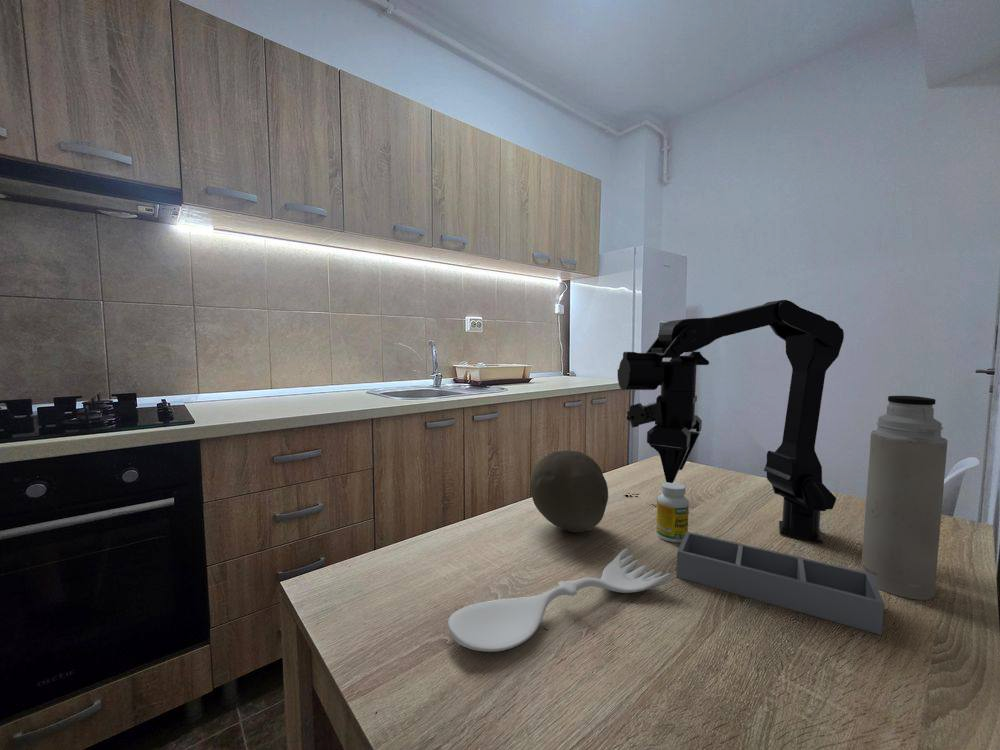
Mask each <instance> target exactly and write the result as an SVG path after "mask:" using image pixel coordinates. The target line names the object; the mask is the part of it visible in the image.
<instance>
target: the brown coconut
mask: <svg viewBox="0 0 1000 750" xmlns="http://www.w3.org/2000/svg"><path fill="white" fill-rule="evenodd" d="M529 490H530V494H531V498H532V501H533V504H534V506H535V508H536V509H537V511H538V512H539V513H540V514H541V515H542V517H543V518H545V520H547V521H548V522H549V523H551V524H552V525H554V526H555V527H557V528H559V529H562V530H565V531H568V532H573V533H583V532H587V531H590V530H591V529H593V528H595V527H597V525H598V524H600V523H601V521H602V519H603V518H604V515H605V511H606V509H607V505H608V501H609V488H608V483H607V481H606V478H605V476H604V474H603V472H602V469H601V467H600V465H599V464H598V463H597V462H596V461H595V460H594V459H593V458H592V457H590V456H589V455H587V454H585V453H583V452H581V451H578V450H577V451H576V450H559V451H552V452H550V453H548V454H547V455H545V456H543V458H540V460H539V461H538V462H537V463H536V465H535V467H534V468H533V470H532V472H531V475H530V479H529Z"/></svg>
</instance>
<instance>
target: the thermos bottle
mask: <svg viewBox="0 0 1000 750" xmlns="http://www.w3.org/2000/svg"><path fill="white" fill-rule="evenodd" d="M887 401H888V404H887V406H886V413H885V414H883V415H881V416H878V418H877V419H878V420H877V423H876V426H877V429H875V430H871V432H870V443H869V458H868V471H867V483H866V497H865V510H864V511H865V513H864V523H863V525H864V526H863V536H862V538H863V540H862V551H861V552H862V553H861V563H860V564H861V566H860V571H863V572H867V573H871V575H872V578H873V580H874V582H875V584H876V587H877V589H878V590H880V591H883V592H886V593H888V594H891V595H894V596H897V597H901V598H902V597H903V598H906V599H912V600H918V601H919V600H920V601H921V600H922V601H926V600H931V599H933V598H934V597H935V593H936V584H937V583H936V581H937V570H938V558H939V556H938V555H939V547H940V534H941V522H942V514H943V513H942V512H943V499H944V498H943V497H944V487H945V477H946V467H947V466H946V464H947V453H948V451H947V450H948V439H947V438H945V437H942V430H943V429H944V428H943V426H942V423H941V422H940V421H939V420H937V419H936V418H934V415H935V413H934V412H935V410H934V409H935V408H934V405H936V399H935V398H931V397H925V396H917V395H916V396H915V395H888V396H887Z"/></svg>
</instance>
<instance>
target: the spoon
mask: <svg viewBox="0 0 1000 750" xmlns="http://www.w3.org/2000/svg"><path fill="white" fill-rule="evenodd" d="M629 552H630V548H624V549H623V550H621V551H620V552H619V553H618V554H617V555H616V556H615V557H614V558H613V559H612V561H610V562H609V563H608V564H607V565H605V567H604V568H603V571H602V573H601V577H600V578H596V577H581V578H579V579H575V580H571V581H567V580H561V581H558V582H557V587H554V588H553V589H550V590H548V591H545V592H543V593H540V594H538V595H532V596H524V597H512V598H500V599H499V598H498V599H493V600H489V601H483V602H478V603H474V604H470V605H467V606H464V607H462V608H460V609H457V610H456V611H454V612H453V613H452V614H451V615H450V616H449V618H448V621H447V628H448V632H449V634H450V636H451V637H452V639H453V640H454V641H455V642H456V643H458V645H459V646H462V647H465V648H467V649H470V650H473V651H478V652H479V651H480V652H485V653H486V652H491V653H492V652H502V651H506V650H510V649H513V648H515V647H517V646H519V645H521V644H523V643H524V642H526V641H527V640H529V639H530V638H531V637H532V636H533V635H534V634H535V633H536V632H537V630H538V628H539V627H540V624H541V622H542V620H543V617H544V615H545V612H546V609H547V608H548V605H549V604H550V603H551V602H552V601H554V599H556V598H558V597H561V596H569V597H575V596H576V595H577V594H578V591H579V590H583V589H584V588H589V587H595V588H596V587H597V588H601V589H604V590H608V591H610V592H615V593H620V594H621V593H622V594H631V593H638V592H642V591H644V590H648V589H650V588H653V587H656V586H659V585H663V584H665V583H666V582H669V581H670V580H671V579H672V576H673V573H671V572H669V573H666V574H663V573H664V571H659V572H657V573H656V571H657V569H656V568H655V569H652V570H649V571H648V572H646V573H645V571H646V569H648V568H647V567H648V566H647V564H646V565H642V566H639V567H637V565H638V564H639V562H640V559H636V560H633V559H634V557H635V555H634V554H631V555H628V554H630V553H629ZM627 555H628V556H627ZM626 556H627V557H626ZM631 561H632V562H631ZM635 567H637V568H636V569H634V568H635ZM643 573H644V574H643Z"/></svg>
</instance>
